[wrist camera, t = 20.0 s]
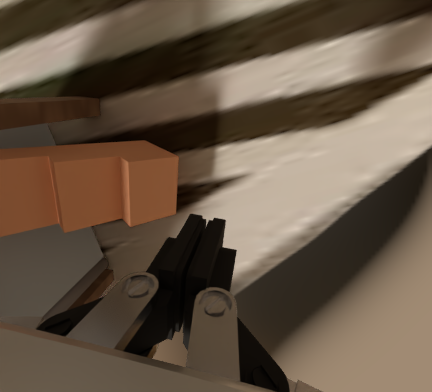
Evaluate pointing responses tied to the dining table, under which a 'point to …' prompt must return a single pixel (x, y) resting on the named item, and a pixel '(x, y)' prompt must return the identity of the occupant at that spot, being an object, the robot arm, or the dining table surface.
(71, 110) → the brown door frame
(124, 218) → the orange stepped block
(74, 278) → the door
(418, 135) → the dining table surface
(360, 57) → the dining table surface
